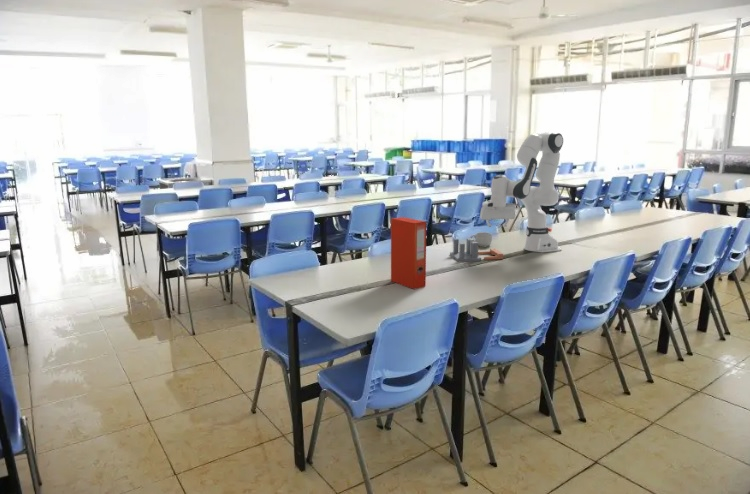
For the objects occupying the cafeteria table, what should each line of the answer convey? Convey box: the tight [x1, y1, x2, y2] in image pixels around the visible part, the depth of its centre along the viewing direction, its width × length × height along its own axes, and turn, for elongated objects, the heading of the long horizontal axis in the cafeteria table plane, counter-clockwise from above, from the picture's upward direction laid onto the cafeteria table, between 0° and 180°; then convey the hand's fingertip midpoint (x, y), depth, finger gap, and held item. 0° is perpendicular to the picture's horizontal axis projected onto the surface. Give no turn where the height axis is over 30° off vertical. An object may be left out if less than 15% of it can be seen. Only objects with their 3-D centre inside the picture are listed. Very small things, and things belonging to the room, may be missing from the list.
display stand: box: [449, 237, 482, 262], centre depth 308 cm, size 14×17×11 cm
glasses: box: [478, 248, 504, 261], centre depth 311 cm, size 11×14×3 cm
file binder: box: [390, 216, 427, 290], centre depth 255 cm, size 8×17×32 cm, turn 36°
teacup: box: [469, 231, 493, 247], centre depth 339 cm, size 14×11×8 cm
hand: (497, 226), depth 308 cm, fingers open, 8 cm apart
